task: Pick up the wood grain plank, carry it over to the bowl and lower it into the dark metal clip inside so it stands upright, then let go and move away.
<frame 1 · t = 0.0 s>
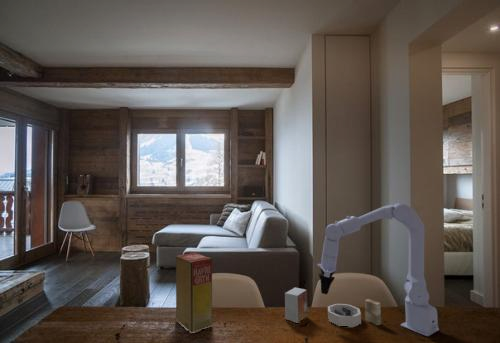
hand: (324, 290, 116), 11 cm above the table, tool pointing down, fingers open, 7 cm apart
bowl: (344, 319, 114), on the table
clip: (343, 313, 114), in the bowl, point 2 cm above the table
wood grain plank: (373, 322, 111), on the table
small box: (296, 319, 115), on the table
food packaging: (194, 324, 112), on the table
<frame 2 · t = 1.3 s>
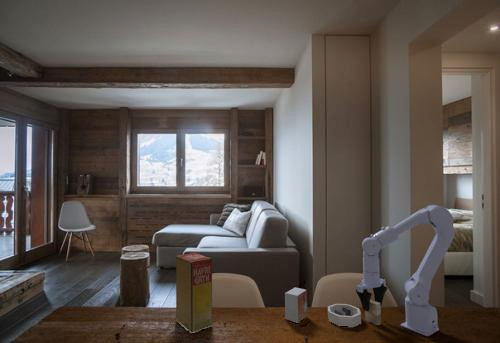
hand: (372, 307, 111), 5 cm above the table, tool pointing down, fingers open, 7 cm apart
nothing on the table moved.
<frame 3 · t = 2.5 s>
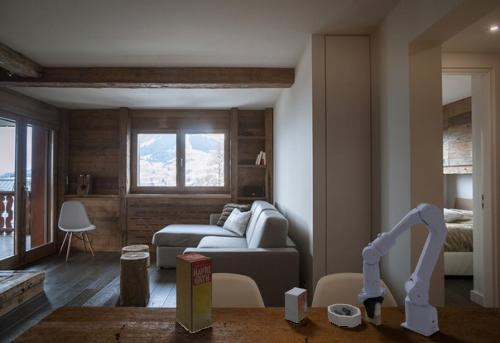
hand: (372, 316, 111), 2 cm above the table, tool pointing down, fingers closed on wood grain plank, 2 cm apart
wood grain plank: (373, 322, 111), on the table, touching gripper
everything else where it was.
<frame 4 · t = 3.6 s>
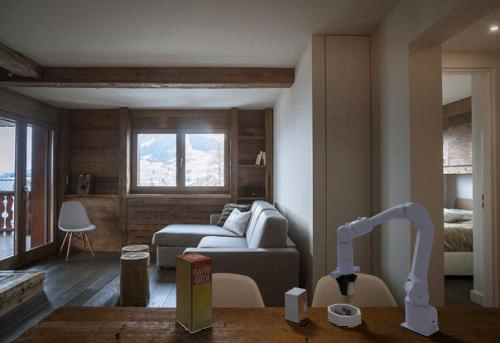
hand: (346, 294, 114), 10 cm above the table, tool pointing down, fingers closed on wood grain plank, 2 cm apart
wood grain plank: (346, 301, 114), point 7 cm above the table, touching gripper
everything else where it was.
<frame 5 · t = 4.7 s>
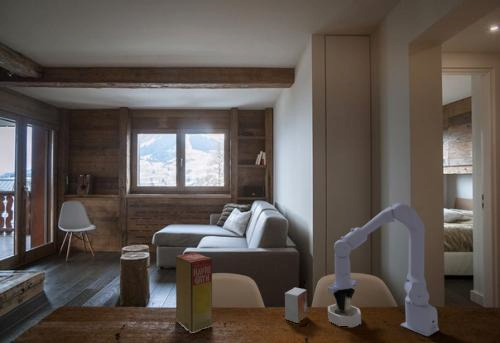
hand: (343, 308, 114), 4 cm above the table, tool pointing down, fingers closed on wood grain plank, 2 cm apart
wood grain plank: (343, 316, 114), point 1 cm above the table, touching clip, gripper
everything else where it was.
when the fingers open (4 cm above the table, at t = 5.0 s): wood grain plank stays where it is, resting on clip.
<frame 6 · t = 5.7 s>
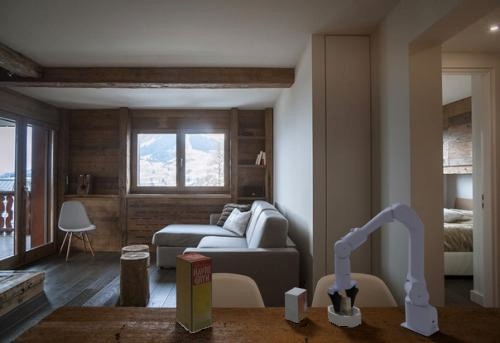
hand: (343, 309, 114), 4 cm above the table, tool pointing down, fingers open, 7 cm apart
wood grain plank: (343, 316, 114), point 1 cm above the table, touching clip
everything else where it was.
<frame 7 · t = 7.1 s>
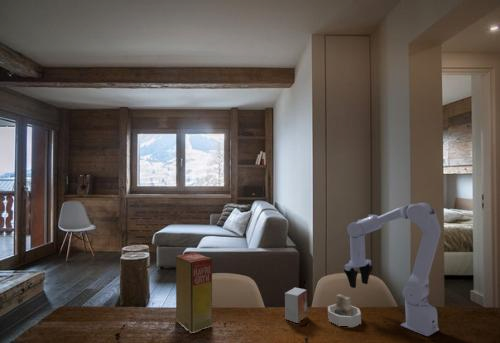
hand: (358, 285, 122), 10 cm above the table, tool pointing down, fingers open, 7 cm apart
nothing on the table moved.
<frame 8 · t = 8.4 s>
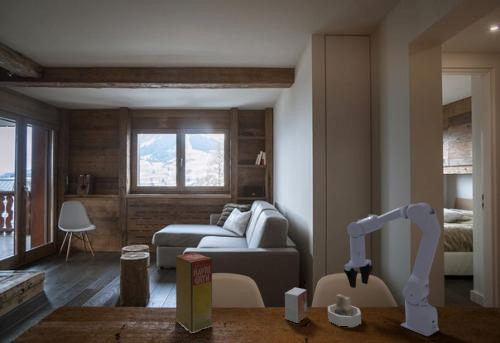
hand: (358, 285, 122), 10 cm above the table, tool pointing down, fingers open, 7 cm apart
nothing on the table moved.
at the end: wood grain plank 0.1 cm off-centre on the bowl, point 1.1 cm above the bowl's base; wood grain plank tilted 0°; the gripper is holding nothing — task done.
